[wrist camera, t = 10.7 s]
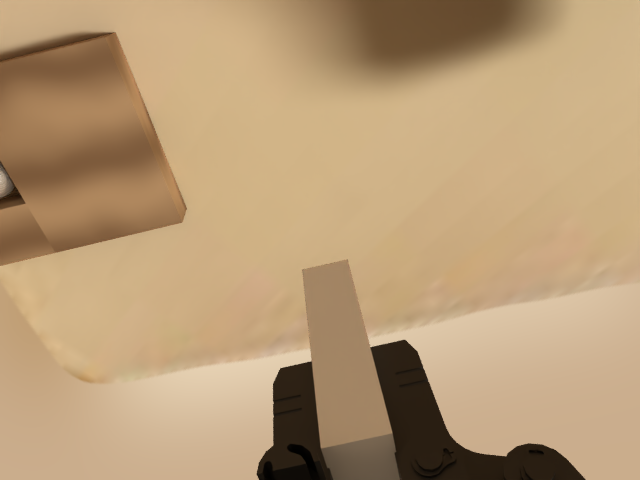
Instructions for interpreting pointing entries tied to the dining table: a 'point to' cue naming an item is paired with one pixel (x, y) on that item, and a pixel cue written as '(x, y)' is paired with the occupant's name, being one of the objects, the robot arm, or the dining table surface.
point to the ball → (5, 182)
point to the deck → (79, 152)
